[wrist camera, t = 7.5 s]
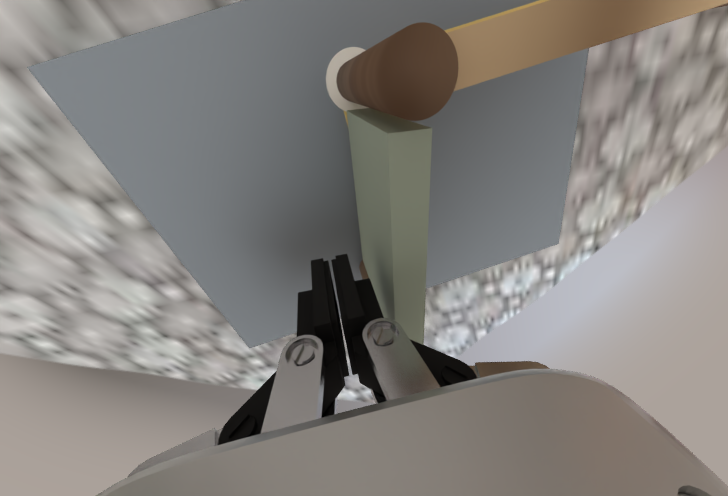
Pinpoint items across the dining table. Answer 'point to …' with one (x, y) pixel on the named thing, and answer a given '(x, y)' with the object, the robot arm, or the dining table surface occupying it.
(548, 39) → the fence fixed
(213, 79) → the card
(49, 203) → the dining table surface
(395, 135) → the fence gate
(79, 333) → the dining table surface
